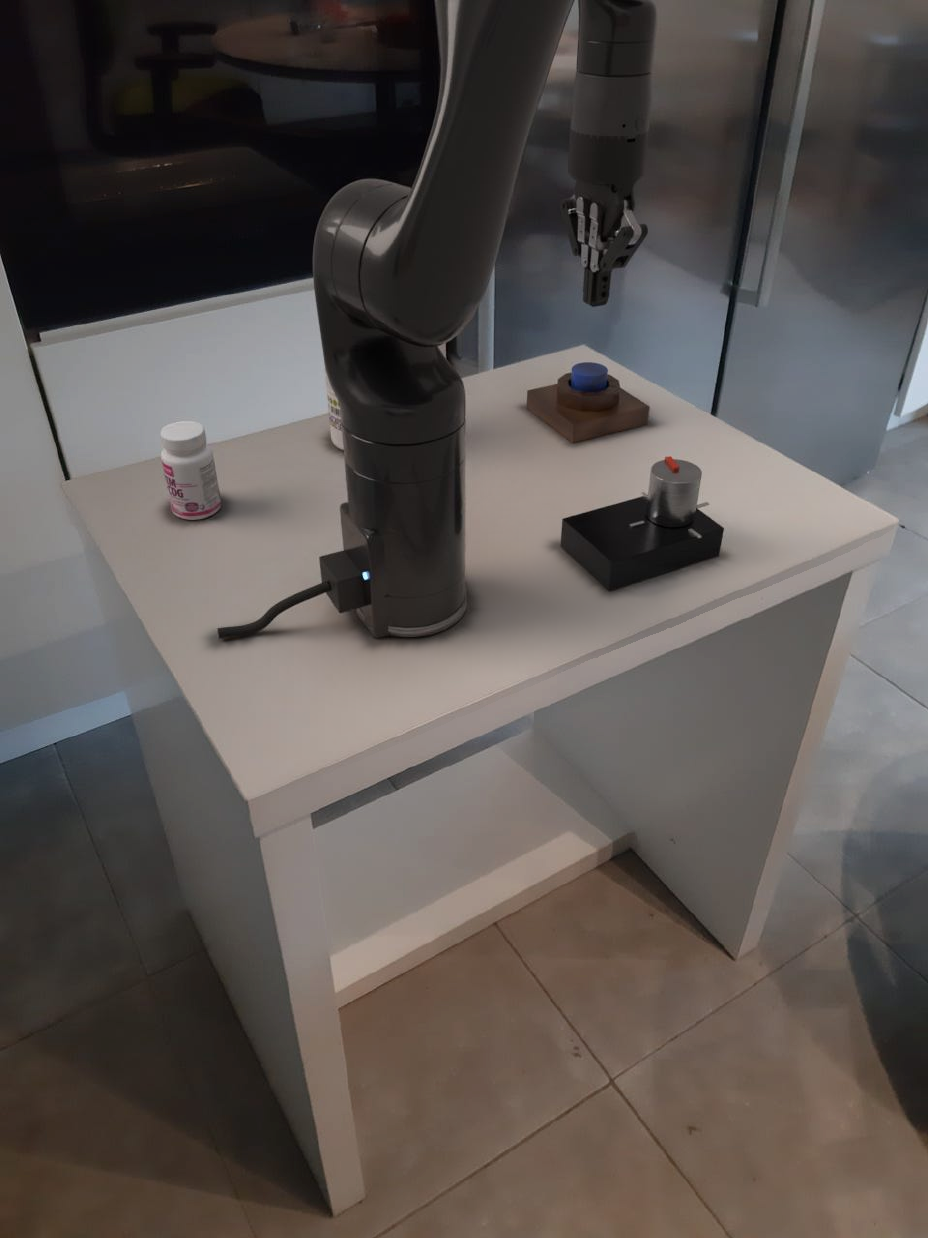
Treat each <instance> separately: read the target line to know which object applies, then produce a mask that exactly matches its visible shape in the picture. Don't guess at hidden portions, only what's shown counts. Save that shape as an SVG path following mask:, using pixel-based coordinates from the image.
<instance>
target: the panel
mask: <svg viewBox="0 0 928 1238" xmlns="http://www.w3.org/2000/svg"><path fill="white" fill-rule="evenodd" d="M640 495H641V496H638V497H635V498H632V499H628V500H625V501H621V502H617V503H613V504H610V505H607V506H603V507H600V508H596V509H592V510H589V511H585V512H581V513H578V514H575V515H571V516H568V517H564V518H562V519H561V532H560V547H561V548H562V549H563V551H565V552H566V553H567V554H568V555H569V556H570V557H571V558H572V559H573V560H574V561H576V562H577V563H578V564H579V565H580V566H581V567H582V568H583V569H584V570H586V572H588V573H589V574H590V576H591V577H593V578H594V579H595V580H596V581H597V582H598V583H600V584H601V585H602V586H603V587H604V588H605V589H606V590H607V591H608V592H611V591H614V590H617V589H620V588H623V587H626V586H630V585H632V584H636V583H639V582H641V581H642V582H643V581H645V580H648V579H651V578H655V577H657V576H661V575H664V574H668V573H670V572H674V571H676V570H679V569H680V570H681V569H683V568H686V567H690V566H692V565H695V564H699V563H702V562H705V561H707V560H708V561H709V560H711V559H714V558H717V557H720V553H721V549H722V543H723V537H724V532H725V527H723V526H722V525H721V524H719V523H718V522H717V521H715V520H714V519H712V518H711V517H710V516H709V515H707V514H706V513H704V512H703V511H702V510H700V509H701V508H703V507H707V506H710V502H708V501H706V502H702V503H697V507H696V513H695V519H694V520H693V522H692V523H690V524H689V525H686V526H683V527H665V526H661V525H658V524H655V523H653V522H652V521H650V520H649V519H648V518H647V516H646V505H647V497H648V493H646V492H644V491H643V492H641V493H640Z"/></svg>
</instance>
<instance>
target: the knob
mask: <svg viewBox="0 0 928 1238" xmlns="http://www.w3.org/2000/svg"><path fill="white" fill-rule="evenodd" d="M649 474H650V475H649V481H648V483H649V484H648V491H647V495H648V497H647V505H646V516H647V518H648V519H649V520H650V521H652V522H653V523H655V524H658V525H661V526H665V527H683V526H686V525H689V524H690V523H692V522H693V520H694V519H695V513H696V507H697V505H698V499H699V493H700V488H701V482H702V475H703V472H702V469H701V468H700V467H699V466H698V465H696V464H695V463H693V462H691V461H688V460H683V459H678V458H677V459H676V458H673V457H672V456H671V455H669V456H665V457H664V459H661V460H659V461H656V462H655V463H654V464H653V465H652V466H651V468H650V473H649Z"/></svg>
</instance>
